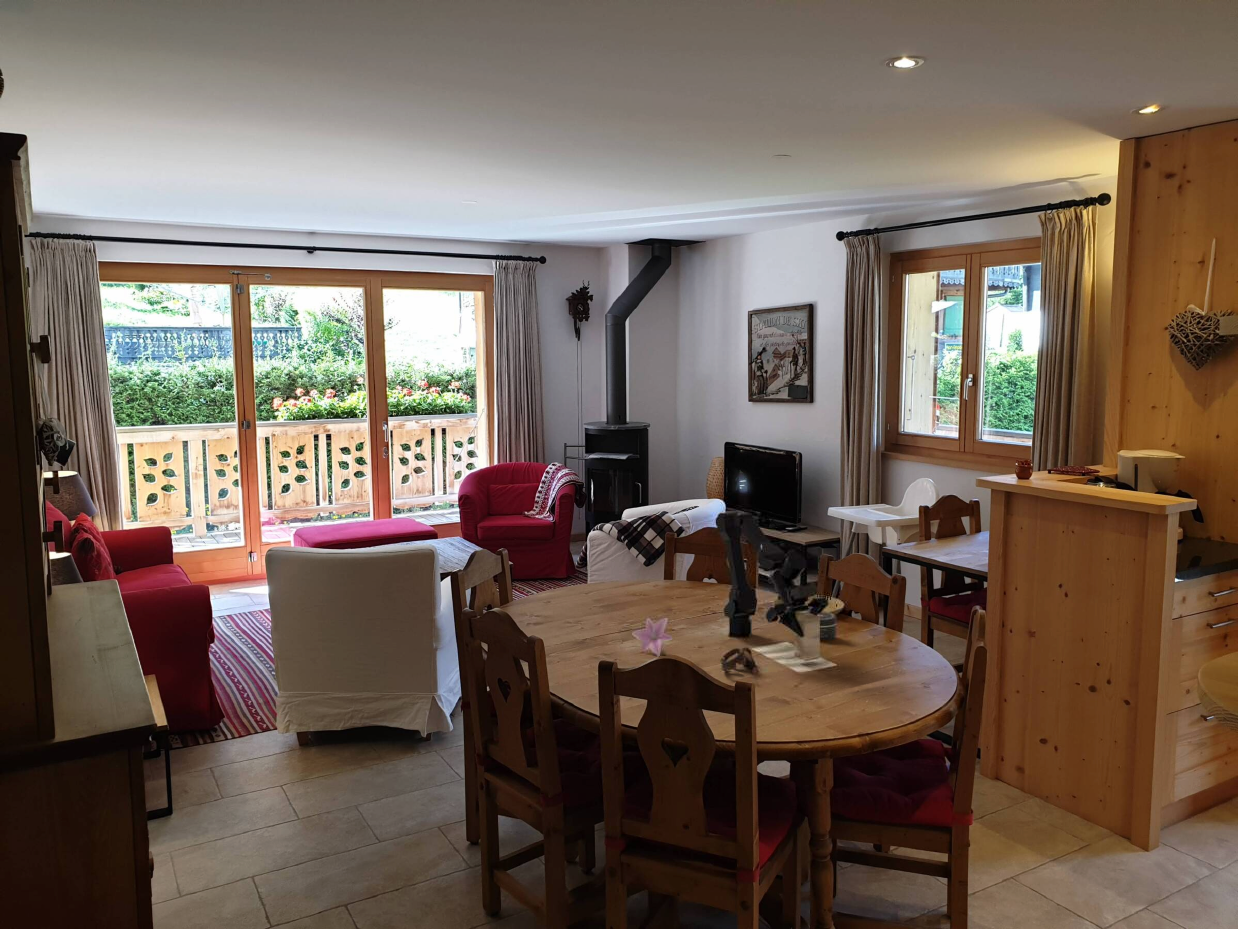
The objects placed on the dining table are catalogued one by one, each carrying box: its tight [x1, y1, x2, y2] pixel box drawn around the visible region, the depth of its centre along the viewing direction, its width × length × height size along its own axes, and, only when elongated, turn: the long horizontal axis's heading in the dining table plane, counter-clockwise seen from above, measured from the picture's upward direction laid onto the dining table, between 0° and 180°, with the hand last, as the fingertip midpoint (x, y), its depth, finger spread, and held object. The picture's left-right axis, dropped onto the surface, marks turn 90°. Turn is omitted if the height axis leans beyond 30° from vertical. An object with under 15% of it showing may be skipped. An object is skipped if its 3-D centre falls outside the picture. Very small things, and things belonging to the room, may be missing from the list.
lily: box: [631, 617, 673, 657], centre depth 275 cm, size 12×12×10 cm
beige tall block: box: [794, 613, 821, 661], centre depth 257 cm, size 5×5×12 cm
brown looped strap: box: [719, 646, 758, 675], centre depth 254 cm, size 12×10×8 cm
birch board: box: [750, 641, 837, 674], centre depth 264 cm, size 24×13×1 cm, turn 26°
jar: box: [817, 611, 837, 642], centre depth 282 cm, size 10×10×8 cm
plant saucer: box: [772, 594, 845, 616], centre depth 312 cm, size 24×24×3 cm
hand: (810, 635), depth 255 cm, fingers closed on beige tall block, 5 cm apart
